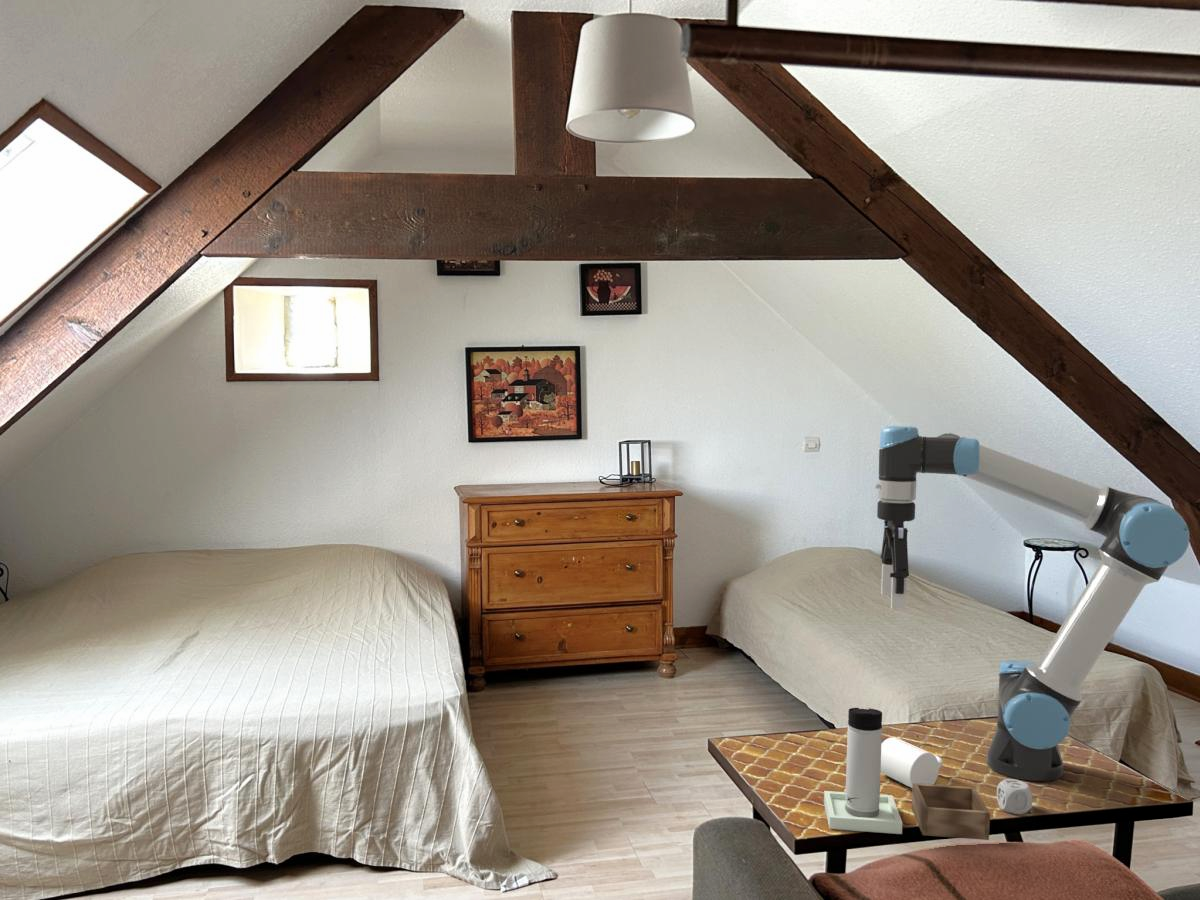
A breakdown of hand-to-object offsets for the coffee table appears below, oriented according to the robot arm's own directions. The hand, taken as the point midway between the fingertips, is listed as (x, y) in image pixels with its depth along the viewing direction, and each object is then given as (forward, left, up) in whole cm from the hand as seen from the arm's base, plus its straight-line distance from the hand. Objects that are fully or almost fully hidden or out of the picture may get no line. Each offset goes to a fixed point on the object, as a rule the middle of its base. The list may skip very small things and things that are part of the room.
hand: (892, 601), depth 209 cm
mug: (-5, +3, -37) cm, 37 cm away
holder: (-8, +23, -37) cm, 44 cm away
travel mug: (+8, +23, -36) cm, 43 cm away
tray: (+8, +23, -37) cm, 44 cm away
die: (-22, +14, -37) cm, 45 cm away
